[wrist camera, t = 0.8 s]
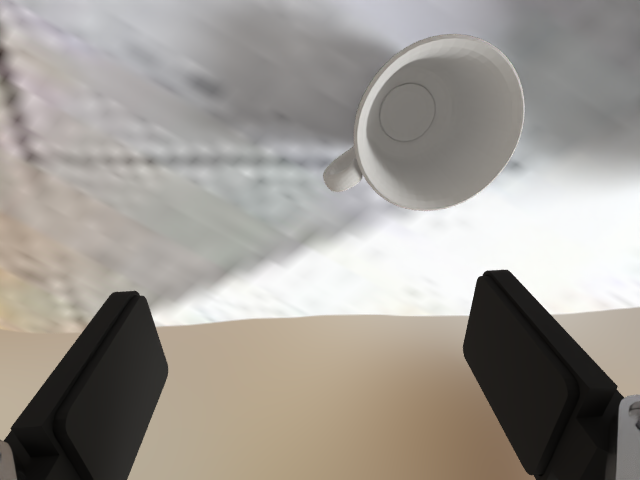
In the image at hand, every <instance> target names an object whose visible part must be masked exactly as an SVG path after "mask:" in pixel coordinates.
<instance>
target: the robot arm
mask: <svg viewBox="0 0 640 480" xmlns="http://www.w3.org/2000/svg"><path fill="white" fill-rule="evenodd" d="M463 353H464V357H465V359H466V361H467V363H468V365H469V367H470V368H471V370H472V372H473V374H474V376H475V377H476V380H477V381H478V383H479V385H480V387H481V389H482V391H483V392H484V395H485V396H486V398H487V400H488V402H489V404H490V406H491V407H492V410H493V411H494V413H495V415H496V417H497V419H498V421H499V423H500V425H501V426H502V428H503V430H504V432H505V434H506V436H507V438H508V439H509V441H510V443H511V445H512V447H513V449H514V451H515V452H516V454H517V456H518V458H519V460H520V462H521V464H522V466H523V467H524V469H525V470H526V472H527V473H528V474H529V475H534V477H535V478H536V480H640V395H631V396H627V397H625V398H624V397H623V396H622V395H621V394H620V393H619V392H618V390H617V385H616V384H615V383H614V382H613V381H612V380H611V379H610V378H609V377H608V376H607V375H606V373H605V372H603V370H602V369H601V368H600V367H599V366H598V365H597V364H596V363H595V362H594V361H593V360H592V359H591V357H589V355H588V354H587V353H586V352H585V351H584V350H583V349H582V348H581V347H580V346H579V345H578V344H577V343H576V341H575V340H574V339H573V338H572V337H571V336H570V335H569V334H568V333H567V332H566V331H565V330H564V329H563V328H562V327H561V325H560V324H559V323H558V322H557V321H556V320H555V319H554V318H553V317H552V316H551V315H550V314H549V313H548V312H547V311H546V309H545V308H544V307H543V306H542V305H541V304H540V303H539V302H538V301H537V300H536V299H535V298H534V297H533V296H532V295H531V293H530V292H529V291H528V290H527V289H526V288H525V287H524V286H523V285H522V284H521V283H520V282H519V281H518V280H517V279H516V277H515V276H514V275H513V274H512V273H511V272H510V271H508V270H492V271H486V272H484V274H483V276H480V277H478V279H477V283H476V287H475V292H474V297H473V301H472V306H471V311H470V316H469V320H468V325H467V330H466V335H465V339H464V344H463ZM167 376H168V364H167V362H166V358H165V356H164V352H163V349H162V346H161V343H160V340H159V337H158V334H157V331H156V327H155V324H154V321H153V318H152V315H151V312H150V309H149V306H148V303H147V300H146V298H145V297H144V296H140V295H139V293H138V292H136V291H126V292H114V293H112V294H111V295H110V296H109V298H108V299H107V300H106V302H105V303H104V304H103V306H102V307H101V308H100V310H99V311H98V312H97V314H96V315H95V316H94V318H93V319H92V320H91V322H90V323H89V324H88V326H87V327H86V328H85V330H84V331H83V332H82V334H81V335H80V336H79V338H78V339H77V340H76V342H75V343H74V344H73V346H72V347H71V348H70V350H69V351H68V352H67V354H66V355H65V356H64V358H63V359H62V360H61V362H60V363H59V364H58V366H57V367H56V368H55V370H54V371H53V372H52V374H51V375H50V376H49V378H48V379H47V380H46V382H45V383H44V384H43V386H42V387H41V388H40V390H39V391H38V392H37V394H36V395H35V396H34V398H33V399H32V400H31V402H30V403H29V404H28V406H27V407H26V408H25V410H24V411H23V412H22V414H21V415H20V416H19V418H18V419H17V420H16V422H15V423H14V424H13V426H12V427H11V432H10V433H9V435H8V436H7V437H6V439H5V440H4V441H2V440H0V480H127V478H128V476H129V473H130V471H131V468H132V466H133V463H134V461H135V458H136V455H137V453H138V450H139V447H140V445H141V443H142V440H143V437H144V435H145V432H146V430H147V427H148V424H149V422H150V420H151V417H152V414H153V412H154V410H155V407H156V405H157V402H158V399H159V397H160V394H161V392H162V389H163V387H164V384H165V382H166V379H167Z"/></svg>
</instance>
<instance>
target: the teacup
mask: <svg viewBox="0 0 640 480" xmlns="http://www.w3.org/2000/svg"><path fill="white" fill-rule="evenodd" d="M524 113H525V105H524V95H523V89H522V85H521V82H520V79H519V76H518V74H517V72H516V70H515V68H514V66H513V65H512V64H511V62H510V61H509V59H508V58H507V57H506V56H505V55H504V54H503V53H502V52H501V51H500V50H499V49H498V48H496V47H495V46H493V45H492V44H490V43H488V42H486V41H484V40H482V39H480V38H476V37H472V36H468V35H459V34H447V35H439V36H433V37H429V38H426V39H423V40H420V41H418V42H416V43H414V44H412V45H410V46H408V47H406V48H404V49H403V50H402V51H400V52H399V53H397V54H396V55H395V56H393V57H392V58H391V59H390V60H389V61H388V62H387V63H386V64H385V65H384V66H383V67H382V68H381V69H380V71H379V72H378V73H377V74H376V75H375V77H374V78H373V80H372V81H371V83H370V84H369V86H368V88H367V89H366V91H365V93H364V95H363V97H362V100H361V102H360V105H359V107H358V111H357V114H356V118H355V124H354V146H353V147H352V148H350V149H349V150H348V151H346V152H345V153H343V154H342V155H341V156H339V157H338V158H337V159H335V160H334V161H333V162H332V163H331V164H330V165H329V166H328V167H327V168H326V169H325V171H324V174H323V178H324V181H325V184H326V185H327V187H328V188H329V189H330V190H331V191H334V192H342V191H345V190H348V189H350V188H352V187H353V186H355V185H356V184H358V183H359V182H360V181H361V179H362V175H363V176H364V177H365V179H366V181H367V182H368V184H369V185H370V186H371V187H372V189H373V190H374V191H375V192H376V193H377V194H379V195H380V196H381V197H382V198H384V199H385V200H387V201H388V202H390V203H392V204H394V205H396V206H399V207H402V208H405V209H411V210H418V211H432V210H440V209H445V208H449V207H452V206H455V205H458V204H460V203H463V202H465V201H467V200H468V199H470V198H472V197H474V196H475V195H477V194H478V193H479V192H481V191H482V190H483V189H485V188H486V187H487V186H488V185H489V184H490V183H491V182H492V181H493V180H494V179H495V178H496V177H497V176H498V175H499V174H500V172H501V171H502V170H503V169H504V167H505V166H506V165H507V163H508V161H509V160H510V158H511V156H512V155H513V153H514V151H515V149H516V147H517V144H518V142H519V139H520V136H521V133H522V128H523V123H524Z"/></svg>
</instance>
